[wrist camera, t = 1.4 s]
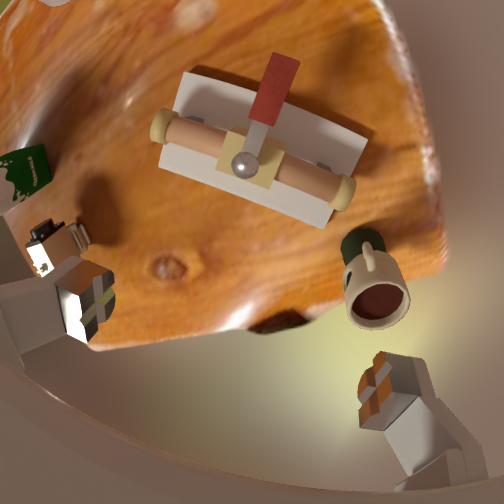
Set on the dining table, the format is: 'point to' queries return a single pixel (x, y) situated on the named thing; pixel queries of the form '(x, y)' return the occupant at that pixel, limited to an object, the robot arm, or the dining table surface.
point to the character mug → (372, 282)
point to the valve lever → (265, 112)
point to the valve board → (285, 130)
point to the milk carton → (22, 175)
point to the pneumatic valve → (56, 244)
